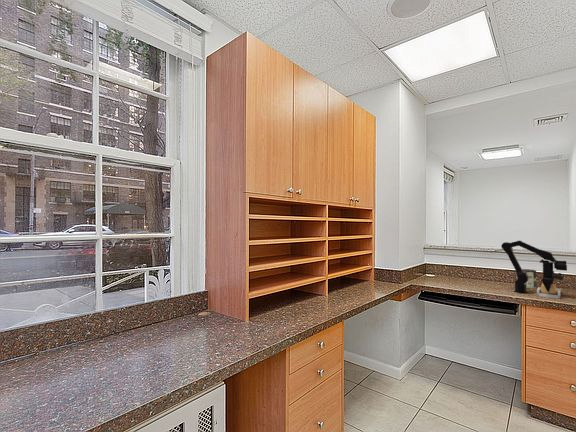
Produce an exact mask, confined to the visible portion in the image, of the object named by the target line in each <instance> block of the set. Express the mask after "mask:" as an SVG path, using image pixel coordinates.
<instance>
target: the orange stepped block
mask: <svg viewBox="0 0 576 432" xmlns="http://www.w3.org/2000/svg"><path fill="white" fill-rule="evenodd" d="M540 287H541V292H545V293H554V294H556V289H557V285H556V284H555V283H553V284H551V286H550V290H549V292H548V291H547V290H546V288H545V286H544V284H543V282H541V285H540Z"/></svg>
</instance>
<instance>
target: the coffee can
mask: <svg viewBox="0 0 576 432" xmlns="http://www.w3.org/2000/svg"><path fill="white" fill-rule="evenodd" d="M522 270H523V271H524V272H527V275H528V276H529V280H528V281H527V282H526V283H525V284H526V289H528V288H529V289H536V288H537V289H538V287H537V269H527V268H522Z"/></svg>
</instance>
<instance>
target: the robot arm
mask: <svg viewBox="0 0 576 432" xmlns="http://www.w3.org/2000/svg"><path fill="white" fill-rule="evenodd" d="M500 247H501V249H502V250H503V252H505V253H506V254H507V256H508V258H509V260H510V262H511V265H512V267H513V268H514V270H515V272H516V276H517V279H516V280H515V281H514V283H515V284H514V290H513V292H514V293H519V294H528V292H527V288H526V284H525V283H526V282H527V281H528V280H529V276H528V275H527V272H524V271H523V270H522V269H523V268H522V266H521V265H520V263H519V260H518V259H517V257H516V255H515V254H514V249H513V248H515V247H521V248H522V249H525V250H527V251H530V252H532V253H534V254H536V255H538V256H539V257H540V258H541V259H540V261H539V263H540V264H541V263H542V278H541V283H543V284H544V286H545V288H546V290H547V291H548V292H549V290H550V286H551V284H554V281H555V279H556V280H558V281H560V282H562V281H563V280H564V278H565V276H564V275H563V274H562V273H560V272H558V273H557V272H555V271H554V269H555V270H556V271H568V265H567V260H557V259H556V258H555V257H554V254H553V253H552V252H550V251H547V250H543V249H540V248H537V247H536V246H533V245H530V244H528V243H526V242H524V241H522V240H516V241H512V242H507V241H506V242H503V243H501V246H500Z"/></svg>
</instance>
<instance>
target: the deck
mask: <svg viewBox="0 0 576 432" xmlns="http://www.w3.org/2000/svg"><path fill="white" fill-rule="evenodd" d="M561 294H562V289H561V288H556V294H554V293H545V292H541V286H538V287H537V289H536V296H537V297H544V298H551V299H552V298H553V299H559V300H561V296H562V295H561Z"/></svg>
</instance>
